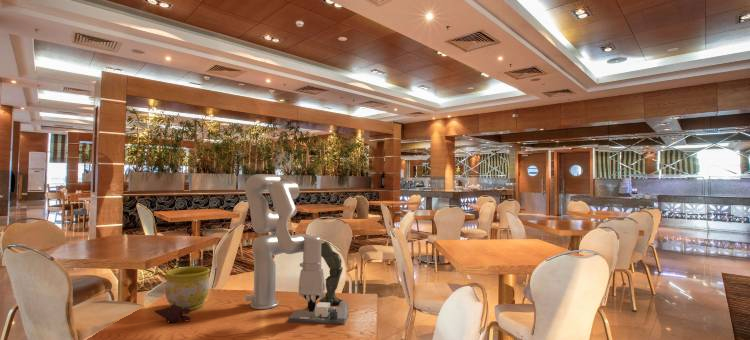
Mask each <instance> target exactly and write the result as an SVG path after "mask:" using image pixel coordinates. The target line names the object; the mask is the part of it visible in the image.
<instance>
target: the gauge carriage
mask: <svg viewBox="0 0 750 340" xmlns="http://www.w3.org/2000/svg"><path fill="white" fill-rule="evenodd" d="M314 311H315V317H327V316H328V315H329V313H330V312H332V313H336V312H337V307H336V306H335V307H334V306H331V305H330V303H326V302H319V301H318V302H317V303H316V306H315V309H314Z"/></svg>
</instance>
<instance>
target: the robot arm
mask: <svg viewBox="0 0 750 340" xmlns="http://www.w3.org/2000/svg"><path fill="white" fill-rule="evenodd" d="M244 192H245V196H246V200H247V202H248V205H249V212H250V218H251V219H250V220H251V226H252V229H253V231H254V232H255V233H257V234H264V233H265V234H266V233H271V234H268V235H267V234H266V235H261V236H258V237H256V238H255V239H254V240H253V241H252V244H251V246H252V247H251V249H252V255H253V265H254V267H253V294H252V295H250V294H246V295H245V301H247V302H248V301H251V302H250V304H249V306H250V308H251V309H256V310H268V309H273V308H275V307H278V305H279V304H280V303H279V299H276V277H277V276H276V272H277V271H276V269H277V268H276V262H275V260H274V258H273V256H276V255H281V254H286V255H293V254H298V253H302V262H301V263H299V267H300V268H302V269H300V273H299V280H298V296H299V297H302V298H304V299H305V300H306V302H307V310H309V312H313V311H315V306H316V305H317V303H316V302H317V300H318V299H319V298H320V299H321V298H323V297H325V296H326V293H325V290H326V284H325V276H324V274H325V273H324V270H323V268H322V257H321V243H322V238H321V237H320V236H317V235H309V234H307V233H302V234H301V233H299V234H292V235H291V233H290V232H289V229H288V222H289V220H290V219H291V218H292V217H295V215H296V214H297V212H298V209H297V206H296V204H295V202H294V200H296V199H298V197H299V196H300V192H301V191H300V186H299V185H298V184H297V182H295V181H293V180H292V179H289V178H288V177H287V178H286V177H284V176H283V175H281V174H271V173H270V174H267V173H266V174H265V173H264V174H263V173H258V174H257V173H256V174H252V175H250V176H249V177H248V178H247V180H246V181H245V186H244ZM263 193H269V196H270V198H271V200H272V204H273V205H274V209H275V211H270V208H269V202H268V200H267V198H266V197H265V196H264V195H263Z"/></svg>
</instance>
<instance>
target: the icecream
mask: <svg viewBox="0 0 750 340" xmlns="http://www.w3.org/2000/svg"><path fill="white" fill-rule="evenodd" d="M170 305H171V304H170ZM170 305H169V306H170ZM169 306H168V307H164V308H161V309H156V310H154V311H153V312H154V313H155V314H157V315H159V316H161V317H162V318H164V319H165V321H166V323H168V321H170V322H169V323H175V322H174V321H176V322H179V321H180V320H181V321H183V320H190V321H191V319H192V318H191V317H189V316H187V315H188V314H190V313H191V311H190V309H189V308H185V309H182V308H181V307H180V306H177V305H175V304H174V305H171V306H170V307H169Z"/></svg>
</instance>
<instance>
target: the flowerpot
mask: <svg viewBox="0 0 750 340" xmlns="http://www.w3.org/2000/svg"><path fill="white" fill-rule="evenodd" d="M210 271H211V268H210V267H206V266H199V265H198V266H195V265H194V266H183V267H176V268H172V269H169V270H167V271H166V272H165V276H166V279H165V280H166V282H165V290H164V291H165V292H164V293H165V299H166V300H167V303H168V304H169V306H168V307H170V306H171V305H174V304H175V305H177V306H180V307H181V308H182V309H185V308H189V309H190V310H192V311H194V310H193V309H196V310H198V309H197V308H199V309H201V308H202V307H203V306H204V304H206V302H205V300H206V299H207V296H208V295H209V291H210V280H209V279H210V278H209V277H210V274H209V273H210ZM200 307H201V308H200Z"/></svg>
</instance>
